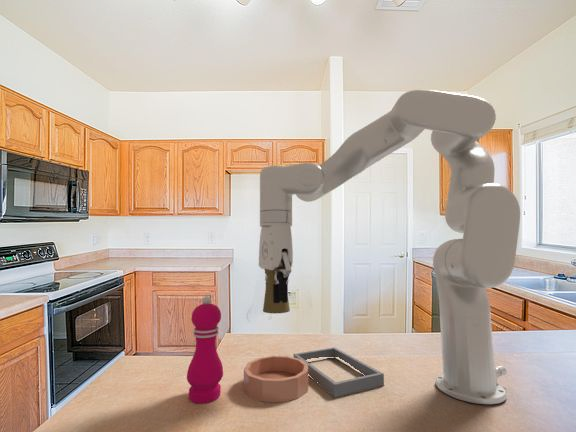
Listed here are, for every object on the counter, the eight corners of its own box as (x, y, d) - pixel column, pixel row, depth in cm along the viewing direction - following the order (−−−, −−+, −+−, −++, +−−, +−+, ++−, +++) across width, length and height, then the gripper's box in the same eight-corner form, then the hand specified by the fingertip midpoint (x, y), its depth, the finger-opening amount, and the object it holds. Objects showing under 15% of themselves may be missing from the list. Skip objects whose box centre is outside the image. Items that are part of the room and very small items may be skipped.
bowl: (291, 369, 75) (291, 352, 75) (319, 393, 62) (319, 373, 63) (237, 379, 69) (237, 361, 70) (256, 408, 57) (256, 385, 57)
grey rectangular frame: (334, 356, 83) (334, 347, 83) (384, 385, 65) (383, 373, 66) (293, 364, 78) (293, 354, 78) (334, 397, 60) (334, 384, 61)
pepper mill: (185, 391, 63) (188, 294, 66) (220, 385, 66) (221, 292, 68) (186, 408, 57) (189, 300, 59) (225, 401, 59) (226, 297, 61)
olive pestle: (286, 313, 64) (286, 261, 65) (259, 313, 65) (259, 261, 66) (292, 308, 70) (291, 260, 71) (267, 307, 71) (266, 260, 72)
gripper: (249, 222, 76) (249, 296, 74) (274, 215, 60) (274, 309, 58) (277, 223, 79) (277, 294, 77) (307, 217, 64) (308, 305, 62)
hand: (276, 300), depth 68 cm, fingers closed on olive pestle, 4 cm apart
